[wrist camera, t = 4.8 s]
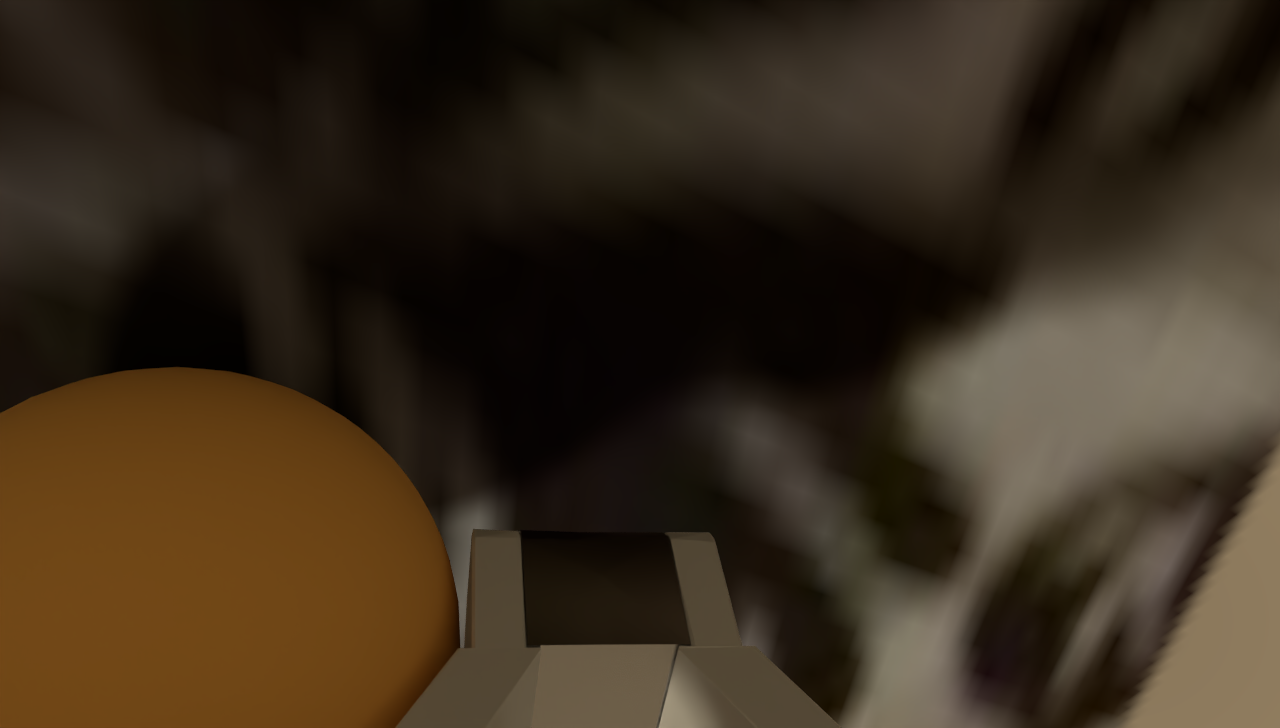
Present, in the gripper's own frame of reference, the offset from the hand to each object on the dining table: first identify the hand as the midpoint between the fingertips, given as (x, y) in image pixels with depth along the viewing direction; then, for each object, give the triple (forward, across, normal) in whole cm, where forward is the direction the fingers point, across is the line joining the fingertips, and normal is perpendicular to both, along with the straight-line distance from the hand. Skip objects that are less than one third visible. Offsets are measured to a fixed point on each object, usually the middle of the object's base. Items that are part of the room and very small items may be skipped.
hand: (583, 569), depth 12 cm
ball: (-1, +4, 0) cm, 4 cm away
